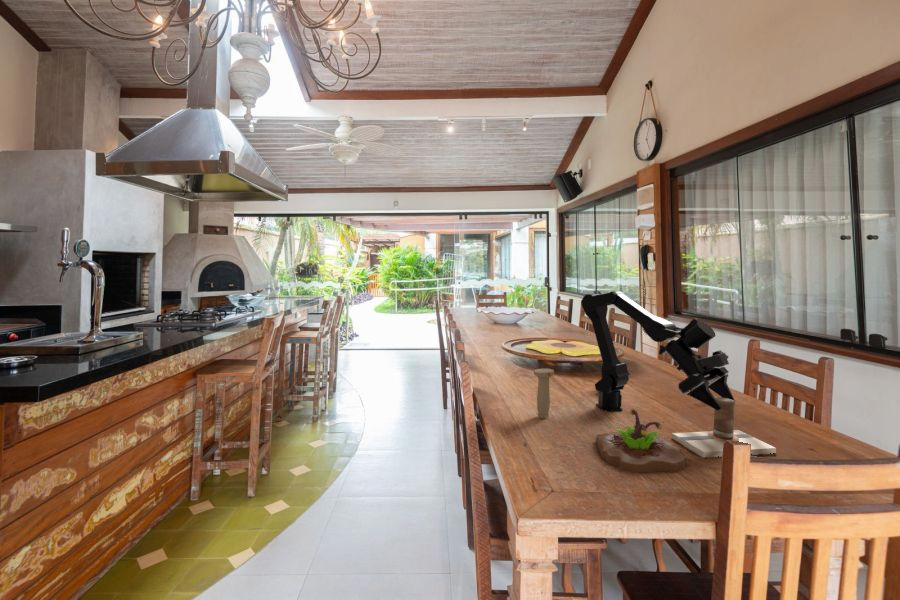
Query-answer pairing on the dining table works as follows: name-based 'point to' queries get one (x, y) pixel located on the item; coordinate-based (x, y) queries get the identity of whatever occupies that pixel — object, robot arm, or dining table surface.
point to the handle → (543, 391)
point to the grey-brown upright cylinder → (724, 419)
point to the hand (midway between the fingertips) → (726, 406)
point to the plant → (640, 449)
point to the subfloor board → (719, 443)
